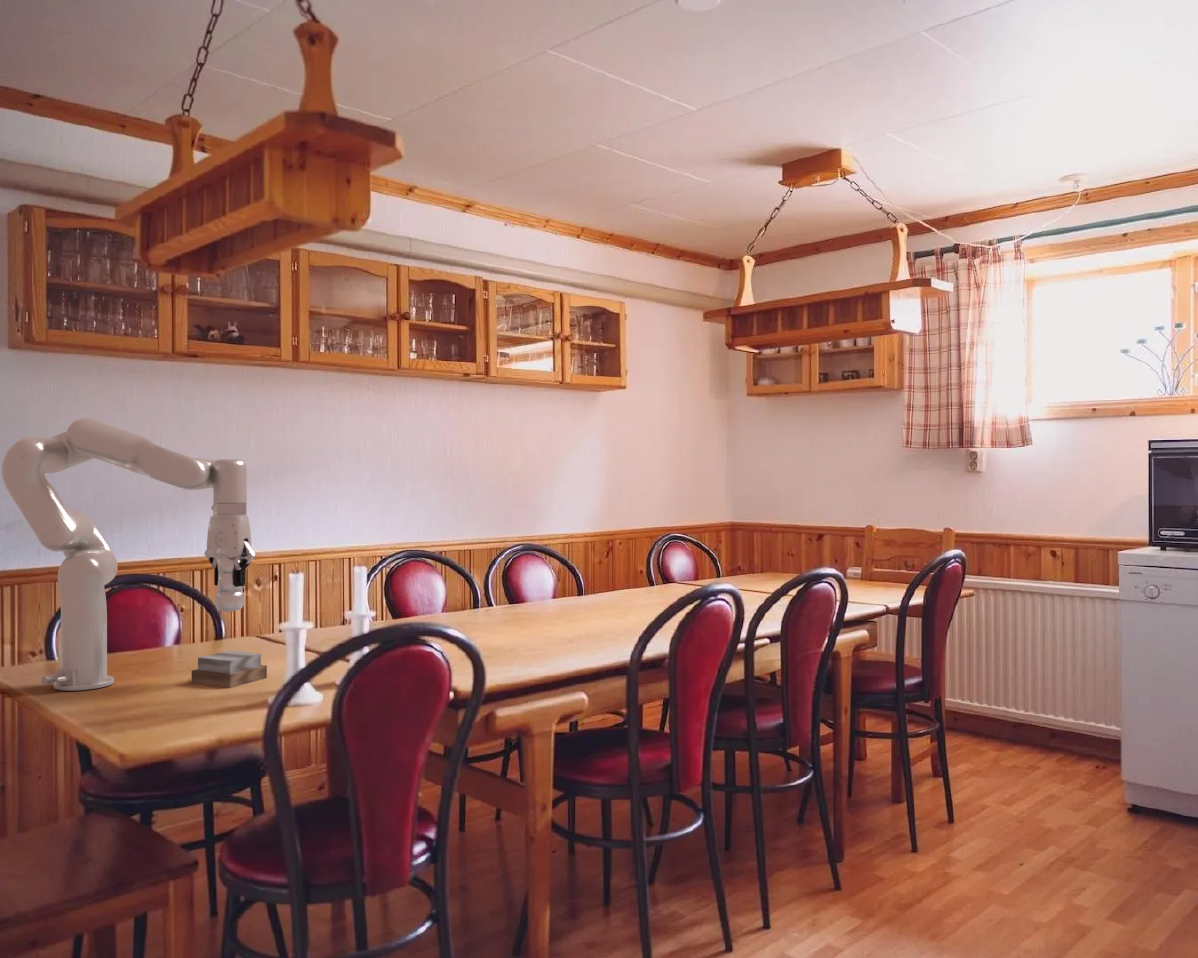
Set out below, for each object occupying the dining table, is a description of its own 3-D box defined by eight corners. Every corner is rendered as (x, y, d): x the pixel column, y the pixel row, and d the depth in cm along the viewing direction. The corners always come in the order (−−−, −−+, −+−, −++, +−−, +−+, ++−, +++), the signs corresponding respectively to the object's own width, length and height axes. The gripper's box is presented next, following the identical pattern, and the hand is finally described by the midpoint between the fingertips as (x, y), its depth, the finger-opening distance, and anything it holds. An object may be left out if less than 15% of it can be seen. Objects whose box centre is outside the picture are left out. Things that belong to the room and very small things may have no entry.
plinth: (230, 687, 224) (230, 662, 224) (191, 683, 228) (191, 658, 228) (266, 677, 235) (266, 653, 235) (229, 673, 240) (229, 649, 239)
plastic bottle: (210, 611, 231) (210, 528, 231) (237, 608, 236) (237, 527, 236) (221, 614, 227) (221, 529, 227) (249, 611, 232) (249, 528, 231)
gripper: (190, 510, 231) (190, 585, 231) (246, 511, 225) (246, 589, 225) (214, 509, 238) (214, 582, 238) (268, 510, 231) (268, 585, 232)
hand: (229, 584), depth 231 cm, fingers closed on plastic bottle, 5 cm apart
